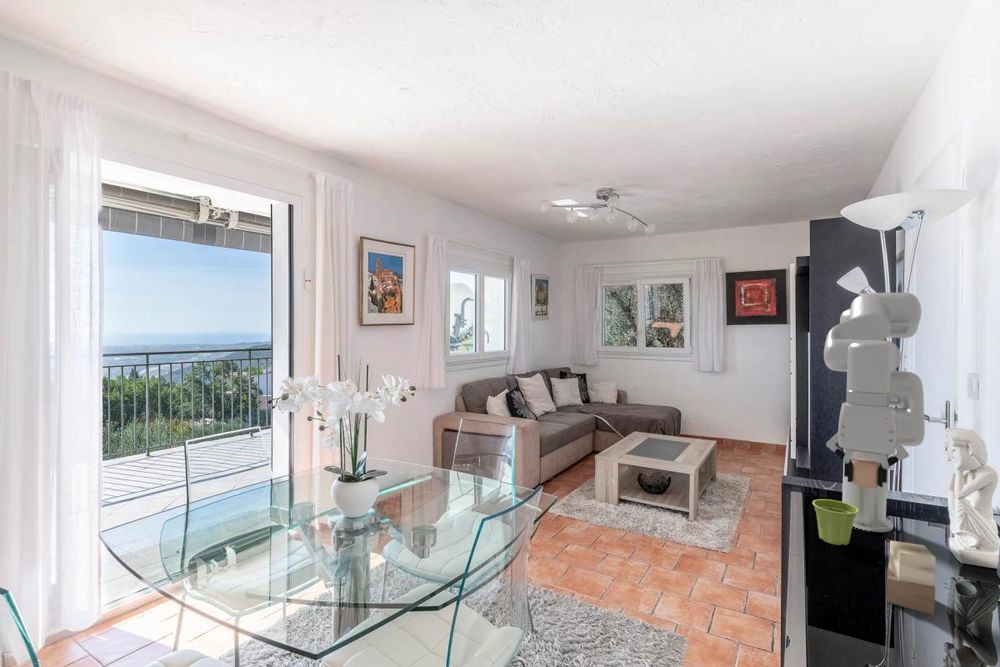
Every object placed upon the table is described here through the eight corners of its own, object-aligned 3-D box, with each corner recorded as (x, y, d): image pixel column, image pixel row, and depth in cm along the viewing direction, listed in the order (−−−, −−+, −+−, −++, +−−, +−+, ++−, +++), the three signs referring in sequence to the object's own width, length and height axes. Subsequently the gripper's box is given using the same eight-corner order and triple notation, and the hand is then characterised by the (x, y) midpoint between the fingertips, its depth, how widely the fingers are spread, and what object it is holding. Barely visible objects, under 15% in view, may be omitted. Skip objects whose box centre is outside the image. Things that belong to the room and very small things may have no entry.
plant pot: (814, 529, 132) (815, 496, 132) (858, 539, 126) (859, 504, 126) (808, 541, 125) (809, 506, 124) (855, 553, 119) (856, 516, 118)
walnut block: (887, 587, 104) (888, 563, 104) (932, 599, 100) (933, 574, 99) (886, 603, 98) (887, 577, 98) (934, 616, 94) (935, 590, 94)
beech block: (889, 567, 102) (890, 540, 102) (922, 572, 100) (923, 545, 100) (898, 580, 97) (899, 552, 97) (934, 586, 95) (935, 557, 95)
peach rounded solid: (851, 479, 113) (852, 457, 113) (878, 483, 110) (879, 460, 110) (851, 484, 109) (851, 461, 109) (878, 489, 107) (879, 465, 106)
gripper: (916, 401, 107) (913, 486, 108) (822, 393, 117) (820, 471, 118) (919, 406, 101) (916, 496, 102) (819, 397, 111) (817, 479, 112)
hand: (864, 482), depth 110 cm, fingers closed on peach rounded solid, 4 cm apart
